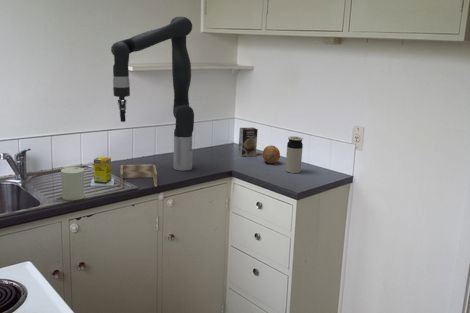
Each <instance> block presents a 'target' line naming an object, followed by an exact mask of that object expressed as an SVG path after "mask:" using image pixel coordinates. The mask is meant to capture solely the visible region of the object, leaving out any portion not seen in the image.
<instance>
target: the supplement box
mask: <svg viewBox="0 0 470 313" xmlns="http://www.w3.org/2000/svg"><path fill="white" fill-rule="evenodd" d="M111 178H112V157H108V156H98V157H96V158H95V159H94V158H93V179H94V183H103V184H107V183H108V182H109V181H111Z"/></svg>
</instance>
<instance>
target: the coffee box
mask: <svg viewBox="0 0 470 313" xmlns="http://www.w3.org/2000/svg"><path fill="white" fill-rule="evenodd" d="M238 134H239V135H238V136H239V137H238V147H237V148H238V149H237V150H238V151H237V154H238V155H239V156H240V157H241V156H242V157H243V156H248V157H256V156H257V142H258V129H257V128H255V127H239V133H238ZM243 158H244V157H243Z"/></svg>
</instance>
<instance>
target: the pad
mask: <svg viewBox="0 0 470 313" xmlns="http://www.w3.org/2000/svg"><path fill="white" fill-rule="evenodd" d="M114 186H115V178H113V177H111V181H109V182H108V183H107V184H103V183H94V178H91V181H90V188H92V187H93V188H94V187H95V188H96V187H114Z"/></svg>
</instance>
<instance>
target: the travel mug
mask: <svg viewBox="0 0 470 313" xmlns="http://www.w3.org/2000/svg"><path fill="white" fill-rule="evenodd" d="M303 140H304V138H303V137H301V136H288V142H287V146H286V158H285V172H287V173H289V172H290V174H299V173H301V170H302V161H303V160H302V157H303V148H304V146H303V145H304V144H303Z"/></svg>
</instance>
